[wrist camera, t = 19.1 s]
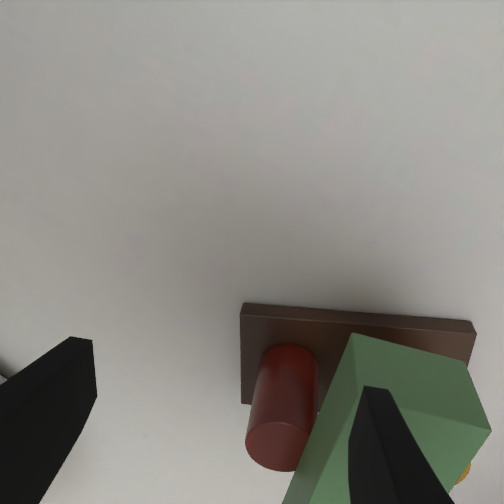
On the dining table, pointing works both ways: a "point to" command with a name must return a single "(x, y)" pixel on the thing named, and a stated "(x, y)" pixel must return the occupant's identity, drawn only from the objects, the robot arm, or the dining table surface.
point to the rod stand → (317, 367)
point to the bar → (410, 405)
